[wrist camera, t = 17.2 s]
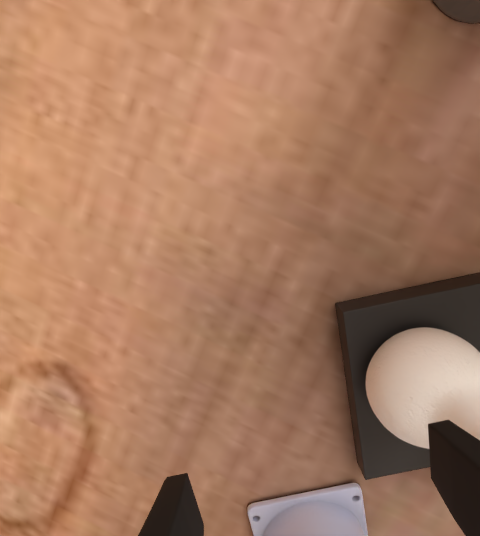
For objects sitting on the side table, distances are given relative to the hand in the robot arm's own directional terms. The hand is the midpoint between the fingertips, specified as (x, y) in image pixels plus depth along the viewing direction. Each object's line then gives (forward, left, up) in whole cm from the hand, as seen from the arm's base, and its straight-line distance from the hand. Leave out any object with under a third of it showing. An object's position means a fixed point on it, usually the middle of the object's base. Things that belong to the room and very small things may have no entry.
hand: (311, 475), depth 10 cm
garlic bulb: (-4, -8, -9) cm, 13 cm away
